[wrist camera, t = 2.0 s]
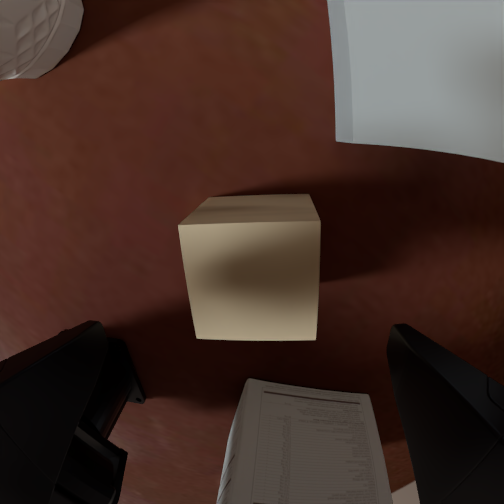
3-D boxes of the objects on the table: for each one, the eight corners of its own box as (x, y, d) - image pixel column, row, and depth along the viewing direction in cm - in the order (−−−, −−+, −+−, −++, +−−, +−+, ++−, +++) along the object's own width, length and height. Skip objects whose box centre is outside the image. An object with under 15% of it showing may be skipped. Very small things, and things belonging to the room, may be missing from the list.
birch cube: (308, 284, 17) (315, 340, 12) (218, 284, 17) (196, 338, 13) (308, 193, 15) (320, 220, 10) (209, 197, 15) (177, 225, 11)
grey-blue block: (491, 159, 13) (533, 169, 9) (334, 141, 14) (352, 143, 10) (477, 8, 9) (512, -9, 6) (322, -28, 10) (331, -66, 7)
